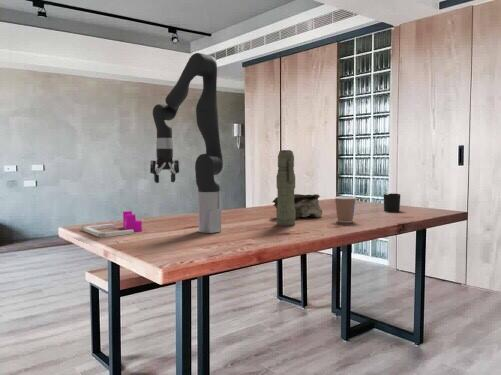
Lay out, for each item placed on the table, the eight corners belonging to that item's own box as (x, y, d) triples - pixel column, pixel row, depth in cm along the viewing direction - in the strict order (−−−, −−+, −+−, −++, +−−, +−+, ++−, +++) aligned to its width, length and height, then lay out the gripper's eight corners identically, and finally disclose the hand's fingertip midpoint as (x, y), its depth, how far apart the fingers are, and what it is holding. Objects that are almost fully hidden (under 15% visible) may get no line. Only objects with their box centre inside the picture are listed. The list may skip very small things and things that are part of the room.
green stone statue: (284, 227, 191) (284, 149, 189) (271, 223, 202) (271, 150, 199) (300, 225, 195) (300, 150, 193) (287, 222, 206) (287, 150, 203)
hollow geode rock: (273, 227, 218) (280, 209, 207) (267, 209, 226) (273, 190, 216) (323, 223, 226) (331, 205, 215) (315, 205, 234) (323, 187, 223)
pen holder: (401, 212, 242) (401, 194, 242) (384, 211, 244) (384, 194, 243) (398, 210, 252) (398, 193, 251) (382, 209, 253) (382, 193, 253)
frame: (133, 233, 176) (133, 230, 176) (100, 237, 167) (100, 233, 167) (112, 226, 194) (112, 223, 194) (81, 230, 185) (81, 226, 185)
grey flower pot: (358, 222, 202) (358, 198, 201) (336, 222, 203) (336, 198, 202) (353, 219, 213) (353, 196, 212) (332, 219, 213) (333, 196, 212)
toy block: (141, 231, 182) (141, 214, 182) (126, 232, 180) (126, 215, 179) (137, 226, 196) (136, 210, 195) (123, 227, 194) (122, 211, 193)
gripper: (155, 147, 189) (155, 183, 190) (181, 148, 199) (182, 182, 200) (146, 147, 194) (147, 182, 195) (173, 148, 204) (173, 181, 205)
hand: (165, 182), depth 198 cm, fingers open, 8 cm apart
